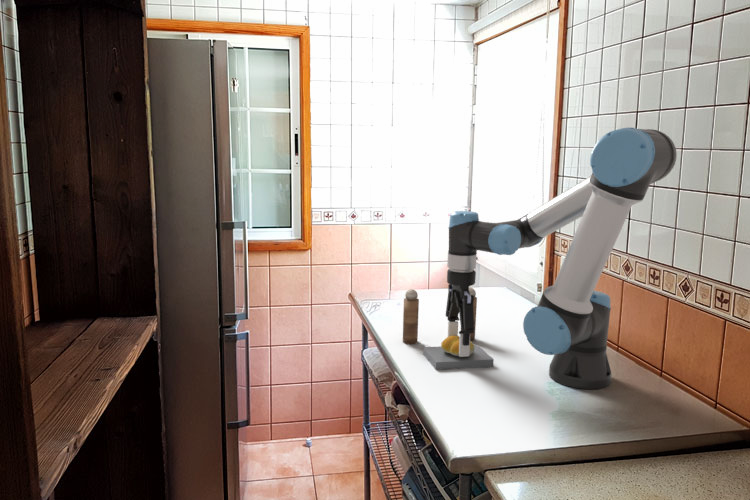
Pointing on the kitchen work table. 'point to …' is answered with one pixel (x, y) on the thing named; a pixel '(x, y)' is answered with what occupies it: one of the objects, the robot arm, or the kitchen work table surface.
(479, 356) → the slate board
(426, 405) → the kitchen work table surface
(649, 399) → the kitchen work table surface
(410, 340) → the mill left
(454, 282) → the robot arm
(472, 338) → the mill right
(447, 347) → the bread roll
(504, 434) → the kitchen work table surface
